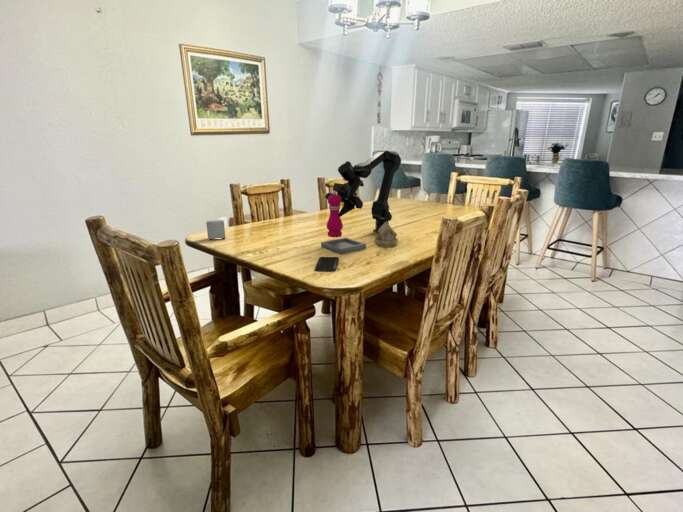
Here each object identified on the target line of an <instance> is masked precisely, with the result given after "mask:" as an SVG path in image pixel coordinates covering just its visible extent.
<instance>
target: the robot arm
mask: <svg viewBox="0 0 683 512" xmlns="http://www.w3.org/2000/svg"><path fill="white" fill-rule="evenodd" d="M381 163H382V167H383V171H384V173H383V177H382V180H381V184H380V189H379V194H378V197H377V199H376V200H375V201H373V202H372V207H371V217H372V220H375V229H373V232H376V233H378V230H379V228H380V227H381V226H382V225H383V224H384V223H385V222H386V221H387V222H389V221H392V218H393V215H392V213H391V212H390V205H389V202H388V201H389V196H390V192H391V189H392V183H393V180H394V176H395V174H396V172H397V171H398V170H399V168H400V165H401V163H402V158H401V157H400V155H399V154H395V153H393V152H390V151H389V150H386V149H380V150H378V151H377V152H376V153H375V154H374V155H373V156H371V157H369V158H368V159H366V160H365V161H363V162H359V163H357V164H355V165H354V166H353V165H352V163H351V161H345V163H342V164H341V165H340V166H339V167H338V168H337V172H338V174H340V176H341V177H342V178H343V181H345V182H344V183H339V182H338V183H336V182H334V184H333V186H332V192H333V191H336V195H339V196H340V197H341V203H343V205H342V207H341V208H340V210H339V215H338V216H339V217H340V218H341V217H342V216H344V215H345V214H348V212H351V211H352V210H355V209H358V210H359V209H360V210H361V209H362V208H363V207H364V202H363V201H362V199H361V198H360V197H359V196H357V195H358V194H357V191H358V190H359V188H360V187H364V186H365V185H364V180H362V179H367V178H368V177H370V175H371V174H372V171H373V170H374V168H376V167H378V165H380V164H381ZM332 192H327V193H326V194H325V195H324V197H325V199H326V200H327V201H328V197H329V196H330V195H333V193H332Z"/></svg>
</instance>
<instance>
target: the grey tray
mask: <svg viewBox="0 0 683 512" xmlns="http://www.w3.org/2000/svg"><path fill="white" fill-rule="evenodd" d="M320 245H321V248H322V249H325V250H328V251H331V252H334V253H336V254H337V255H338V254H339V255H346V254H349V253H353V252H356V251H361V249H362V250H365V248H366V249H367V243H365V242H361V241H359V240H356V239H352V238H349V237H339V238H337V239H330V240H327V241H326V240H325V241H321V242H320Z"/></svg>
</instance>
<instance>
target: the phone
mask: <svg viewBox="0 0 683 512" xmlns="http://www.w3.org/2000/svg"><path fill="white" fill-rule="evenodd" d="M339 261H340V257H338V256H319V257H318V260H317V261H316V264H315V266H314V271H315V272H324V273H325V272H327V273H328V272H329V273H333V272H334V273H335V272H336V271H337V269H338V264H339Z"/></svg>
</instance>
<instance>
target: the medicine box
mask: <svg viewBox="0 0 683 512" xmlns="http://www.w3.org/2000/svg"><path fill="white" fill-rule="evenodd" d="M205 225H206V232H207V240H208V239H215V238H226V229H225V222H224V220H223V219H219V220H218V219H217V220H207V221H206V223H205Z"/></svg>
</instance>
